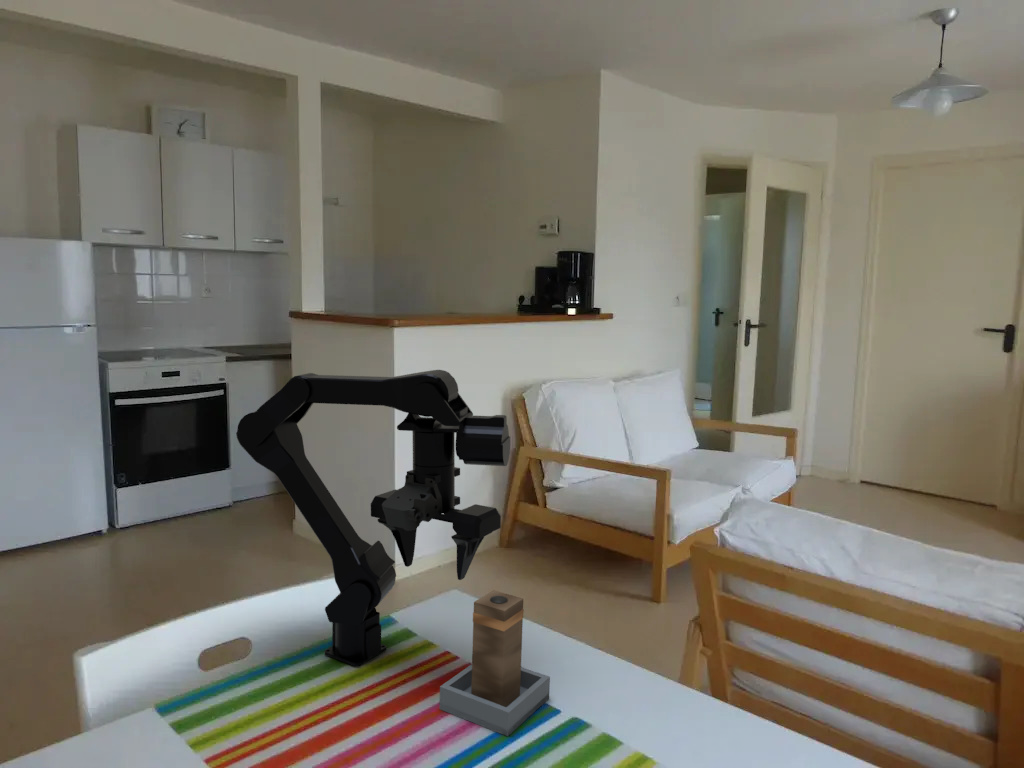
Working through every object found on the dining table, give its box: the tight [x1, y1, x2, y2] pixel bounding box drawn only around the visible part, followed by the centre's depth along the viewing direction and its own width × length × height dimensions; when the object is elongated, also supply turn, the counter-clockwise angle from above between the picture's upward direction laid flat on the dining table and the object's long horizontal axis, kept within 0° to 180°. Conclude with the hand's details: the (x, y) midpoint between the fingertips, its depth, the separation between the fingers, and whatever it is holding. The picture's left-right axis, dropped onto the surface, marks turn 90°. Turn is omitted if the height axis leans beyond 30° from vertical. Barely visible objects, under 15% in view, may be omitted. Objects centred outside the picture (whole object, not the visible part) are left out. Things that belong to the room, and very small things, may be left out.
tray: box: [439, 663, 551, 737], centre depth 95 cm, size 10×10×3 cm
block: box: [471, 589, 525, 707], centre depth 94 cm, size 5×5×13 cm
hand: (434, 572), depth 104 cm, fingers open, 9 cm apart
